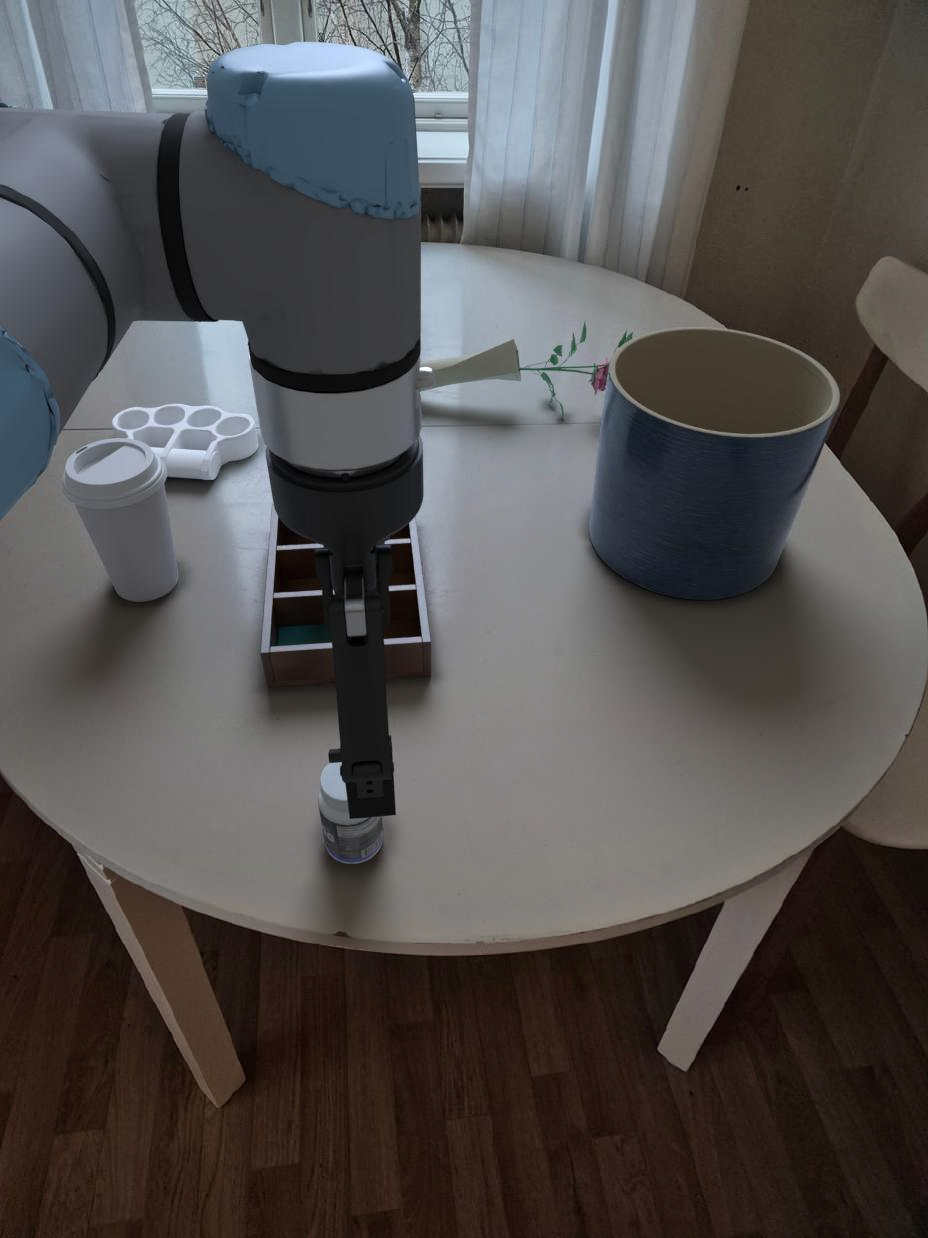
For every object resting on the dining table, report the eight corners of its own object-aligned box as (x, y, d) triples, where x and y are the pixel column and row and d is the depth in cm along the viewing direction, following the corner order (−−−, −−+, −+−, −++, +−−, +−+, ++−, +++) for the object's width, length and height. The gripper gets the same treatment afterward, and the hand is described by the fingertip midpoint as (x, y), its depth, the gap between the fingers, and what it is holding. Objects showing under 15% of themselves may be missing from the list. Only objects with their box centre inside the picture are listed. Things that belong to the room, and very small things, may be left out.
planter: (545, 524, 99) (562, 362, 86) (677, 463, 109) (712, 309, 95) (688, 634, 87) (736, 464, 73) (823, 553, 97) (887, 390, 83)
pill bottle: (321, 820, 70) (311, 757, 64) (378, 810, 71) (373, 746, 65) (328, 871, 67) (317, 809, 61) (388, 860, 68) (383, 798, 62)
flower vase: (401, 433, 127) (642, 397, 121) (385, 455, 116) (648, 416, 110) (384, 351, 122) (634, 309, 116) (365, 366, 111) (640, 320, 105)
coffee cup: (168, 541, 96) (136, 422, 85) (209, 586, 90) (180, 465, 80) (84, 576, 91) (39, 455, 81) (122, 625, 86) (79, 502, 76)
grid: (267, 687, 80) (260, 653, 77) (277, 537, 97) (271, 503, 94) (431, 675, 82) (431, 641, 79) (413, 529, 98) (413, 496, 95)
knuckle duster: (92, 479, 104) (136, 417, 115) (238, 489, 103) (269, 425, 114) (84, 455, 102) (129, 394, 112) (234, 465, 101) (265, 402, 111)
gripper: (449, 609, 32) (445, 894, 47) (405, 319, 50) (412, 590, 65) (246, 622, 32) (306, 907, 46) (275, 323, 49) (312, 596, 64)
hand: (368, 723), depth 56 cm, fingers open, 13 cm apart
